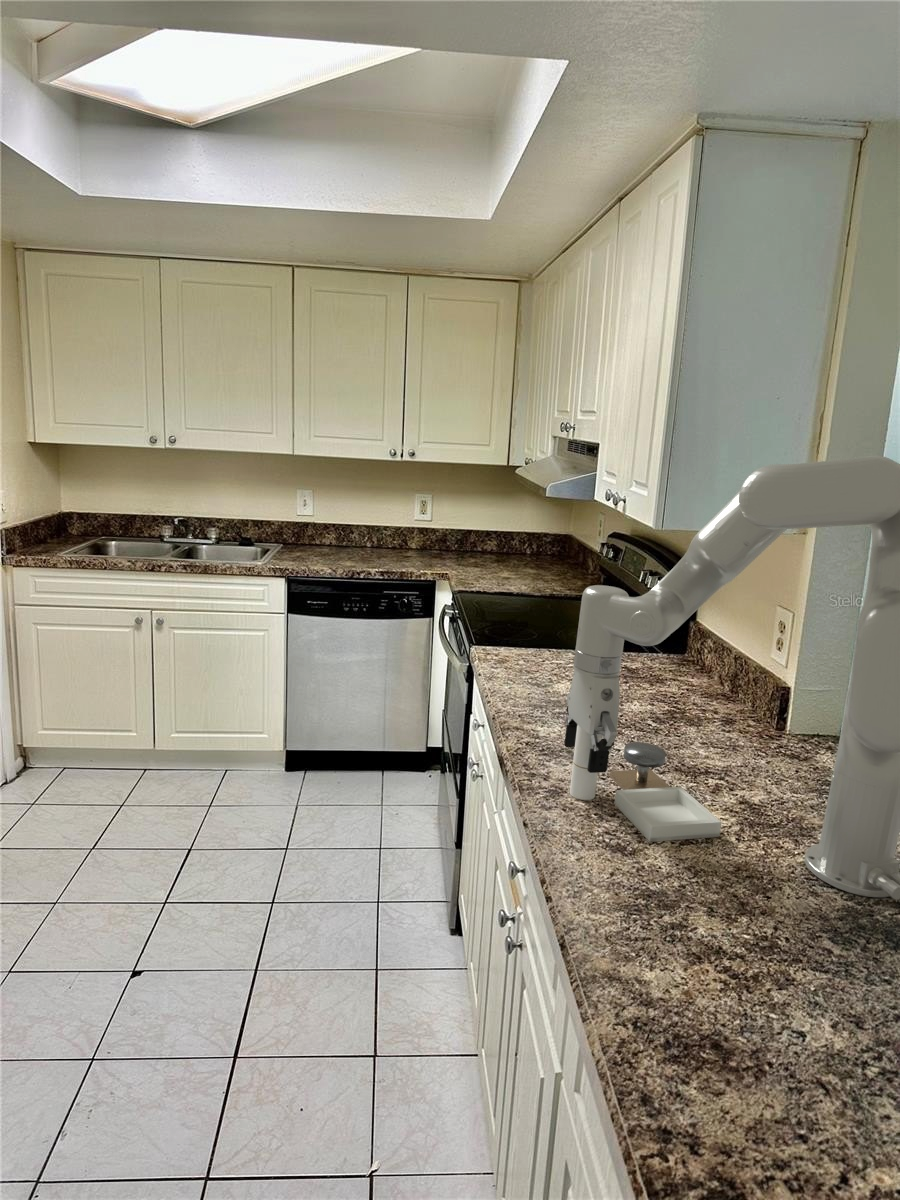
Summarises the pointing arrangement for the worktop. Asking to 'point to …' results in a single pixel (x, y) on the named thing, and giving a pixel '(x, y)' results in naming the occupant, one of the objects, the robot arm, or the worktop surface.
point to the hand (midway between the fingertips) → (584, 758)
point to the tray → (667, 814)
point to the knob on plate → (641, 767)
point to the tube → (583, 767)
